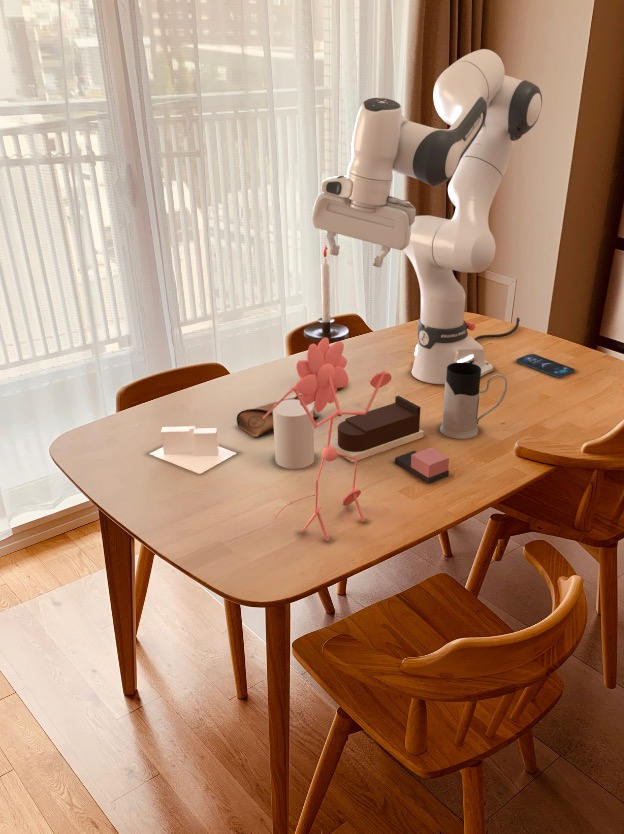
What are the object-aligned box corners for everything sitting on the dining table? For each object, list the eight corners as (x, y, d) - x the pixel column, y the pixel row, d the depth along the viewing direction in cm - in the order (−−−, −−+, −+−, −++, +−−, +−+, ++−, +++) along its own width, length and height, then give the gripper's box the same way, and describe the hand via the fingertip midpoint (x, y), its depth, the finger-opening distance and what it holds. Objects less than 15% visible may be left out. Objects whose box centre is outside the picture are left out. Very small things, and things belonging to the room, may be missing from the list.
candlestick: (352, 392, 199) (352, 249, 181) (309, 395, 197) (305, 251, 178) (343, 375, 208) (343, 237, 190) (302, 378, 206) (297, 239, 187)
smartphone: (559, 376, 209) (514, 359, 218) (558, 378, 210) (514, 361, 219) (576, 369, 214) (532, 353, 223) (576, 371, 214) (531, 355, 223)
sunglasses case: (256, 437, 176) (246, 408, 175) (243, 442, 182) (233, 414, 181) (322, 416, 186) (313, 388, 185) (307, 421, 192) (298, 394, 191)
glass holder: (438, 421, 187) (442, 360, 178) (499, 422, 187) (506, 361, 179) (441, 438, 179) (445, 376, 171) (504, 439, 179) (511, 377, 171)
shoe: (399, 423, 185) (400, 393, 181) (423, 437, 180) (425, 406, 176) (329, 447, 174) (328, 416, 170) (352, 462, 169) (352, 430, 165)
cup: (297, 446, 174) (295, 396, 168) (322, 460, 169) (320, 408, 163) (267, 458, 169) (264, 407, 163) (292, 472, 165) (289, 420, 158)
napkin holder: (148, 454, 170) (144, 430, 167) (186, 434, 178) (183, 411, 175) (200, 474, 163) (197, 449, 160) (237, 452, 171) (235, 428, 168)
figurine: (397, 506, 154) (404, 332, 136) (296, 562, 138) (288, 372, 120) (342, 478, 163) (341, 310, 144) (241, 527, 147) (225, 345, 128)
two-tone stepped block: (394, 462, 169) (395, 444, 167) (414, 455, 172) (414, 437, 170) (428, 483, 162) (430, 465, 160) (448, 475, 165) (449, 457, 163)
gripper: (421, 200, 158) (407, 269, 166) (324, 175, 161) (314, 245, 168) (414, 206, 153) (400, 277, 160) (314, 180, 155) (304, 251, 163)
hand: (355, 260), depth 164 cm, fingers open, 8 cm apart
